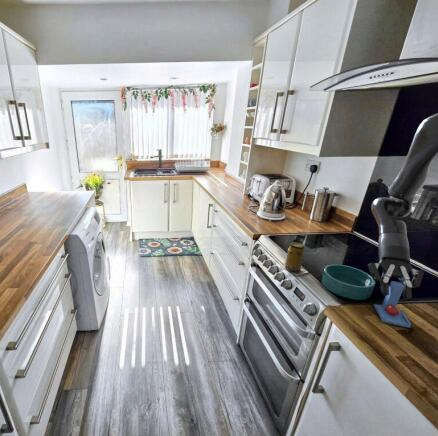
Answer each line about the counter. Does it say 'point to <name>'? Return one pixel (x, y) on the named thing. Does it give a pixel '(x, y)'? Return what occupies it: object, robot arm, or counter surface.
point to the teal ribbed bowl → (348, 282)
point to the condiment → (295, 259)
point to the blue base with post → (392, 299)
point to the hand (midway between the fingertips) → (396, 296)
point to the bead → (392, 310)
